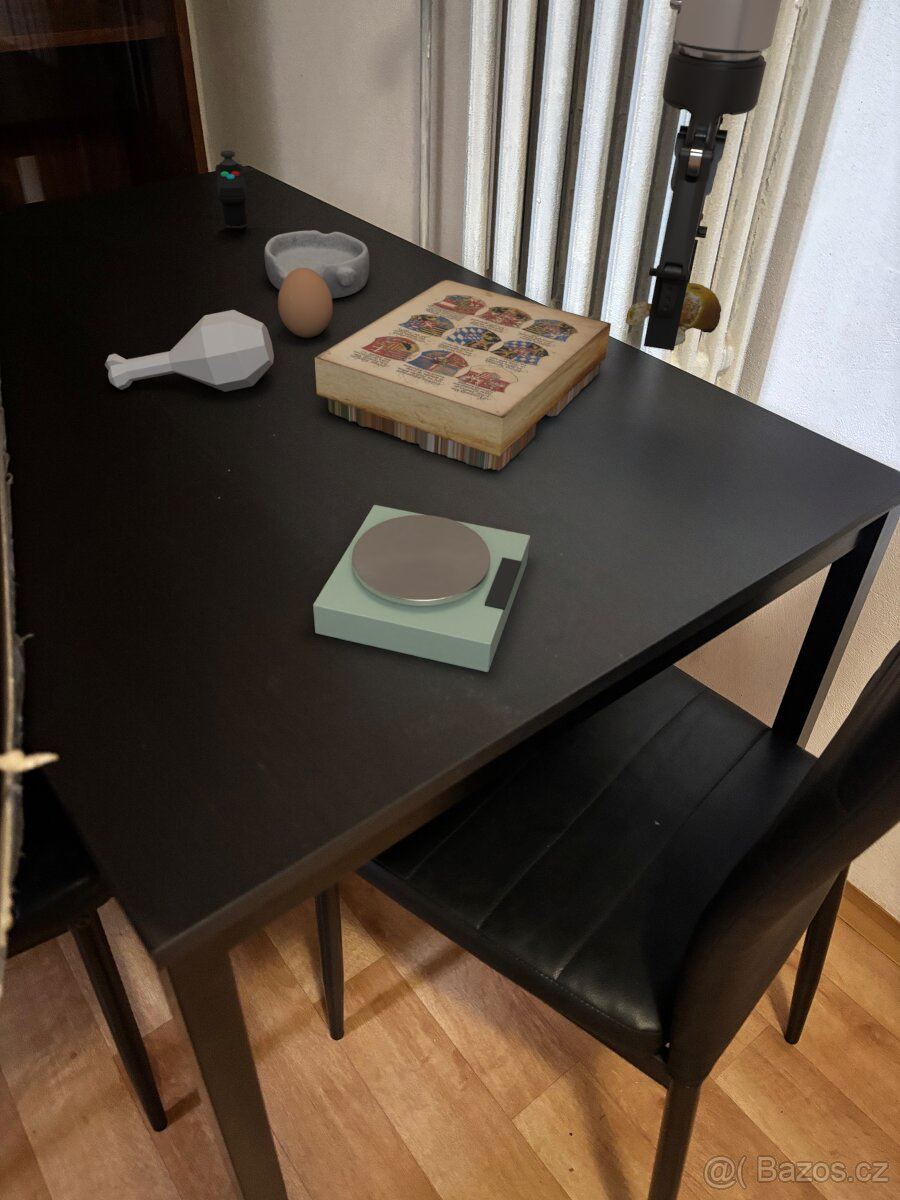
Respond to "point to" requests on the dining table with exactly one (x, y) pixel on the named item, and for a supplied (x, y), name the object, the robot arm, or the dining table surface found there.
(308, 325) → the egg
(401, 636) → the scale
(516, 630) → the dining table surface
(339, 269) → the dish
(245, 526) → the dining table surface
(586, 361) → the book
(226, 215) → the controller
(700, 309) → the fruit
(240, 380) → the chicken leg
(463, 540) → the scale pan
